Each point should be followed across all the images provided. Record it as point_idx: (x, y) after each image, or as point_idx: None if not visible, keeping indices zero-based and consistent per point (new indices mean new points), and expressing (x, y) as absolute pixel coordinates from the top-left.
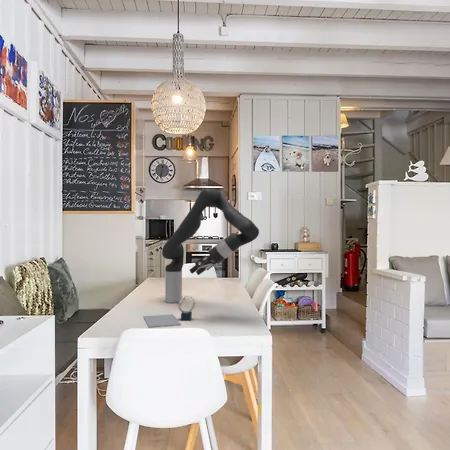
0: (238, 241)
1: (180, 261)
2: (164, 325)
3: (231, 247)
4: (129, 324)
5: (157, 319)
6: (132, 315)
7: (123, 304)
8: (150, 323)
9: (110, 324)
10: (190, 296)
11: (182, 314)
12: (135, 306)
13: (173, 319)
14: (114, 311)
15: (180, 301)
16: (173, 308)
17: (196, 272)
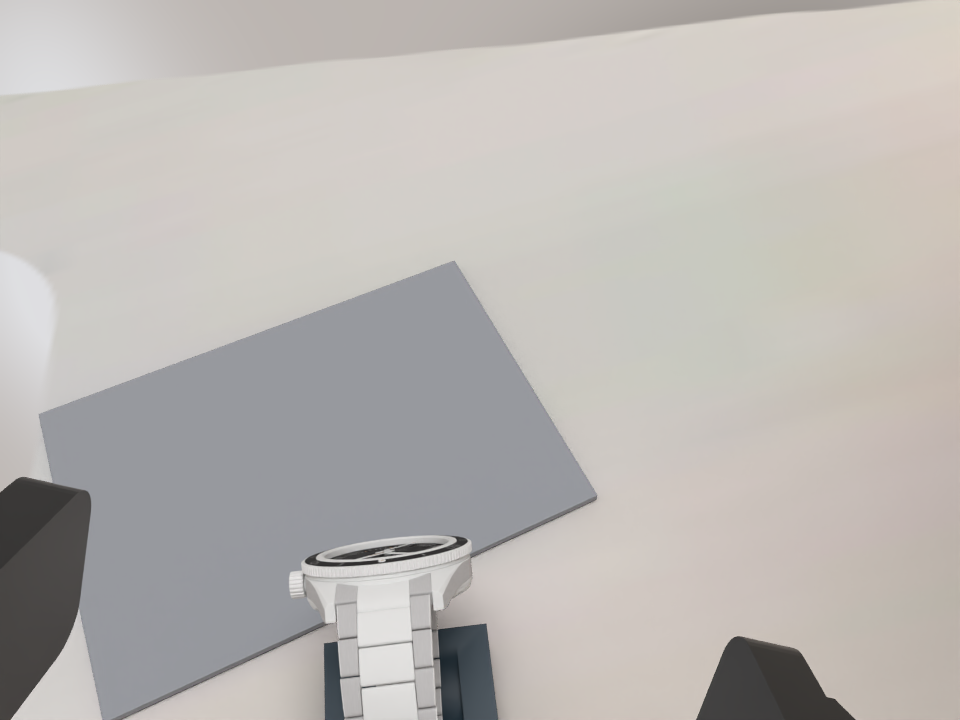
0: None
1: None
2: None
3: None
4: (174, 248)
5: (329, 411)
6: (496, 179)
7: (870, 19)
8: (163, 395)
9: (179, 139)
10: (384, 710)
11: (324, 665)
12: (840, 105)
13: None
14: (603, 42)
15: (295, 575)
16: (926, 425)
17: (720, 666)
